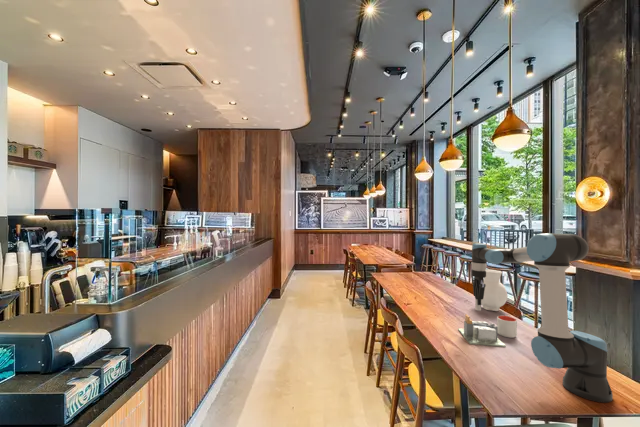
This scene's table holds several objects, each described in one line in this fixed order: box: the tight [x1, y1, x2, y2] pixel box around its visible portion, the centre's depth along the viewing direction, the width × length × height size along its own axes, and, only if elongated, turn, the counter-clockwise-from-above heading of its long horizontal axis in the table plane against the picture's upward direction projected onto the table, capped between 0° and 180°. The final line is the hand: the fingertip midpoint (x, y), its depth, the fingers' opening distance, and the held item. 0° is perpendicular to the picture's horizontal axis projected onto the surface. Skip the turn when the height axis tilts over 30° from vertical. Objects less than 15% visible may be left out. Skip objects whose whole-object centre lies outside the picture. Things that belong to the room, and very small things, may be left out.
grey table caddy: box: [457, 320, 507, 348], centre depth 169 cm, size 20×18×9 cm
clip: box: [464, 314, 473, 324], centre depth 170 cm, size 4×2×4 cm, turn 171°
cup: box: [496, 315, 518, 339], centre depth 174 cm, size 10×10×10 cm
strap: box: [473, 322, 493, 328], centre depth 169 cm, size 3×12×1 cm, turn 81°
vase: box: [481, 268, 508, 312], centre depth 222 cm, size 19×21×30 cm
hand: (478, 309), depth 170 cm, fingers closed
